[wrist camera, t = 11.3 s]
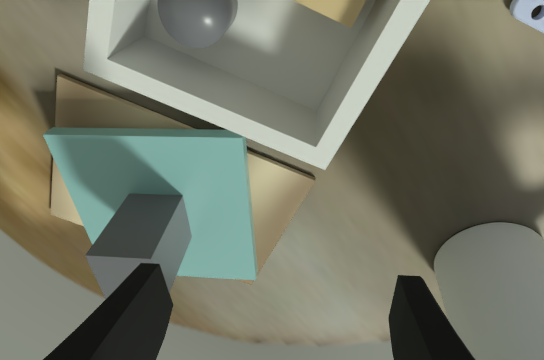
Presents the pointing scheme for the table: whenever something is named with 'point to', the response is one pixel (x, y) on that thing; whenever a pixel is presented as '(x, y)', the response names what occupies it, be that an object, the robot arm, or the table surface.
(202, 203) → the lid
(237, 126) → the storage box
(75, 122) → the cork mat
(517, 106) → the table surface
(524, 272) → the mug
